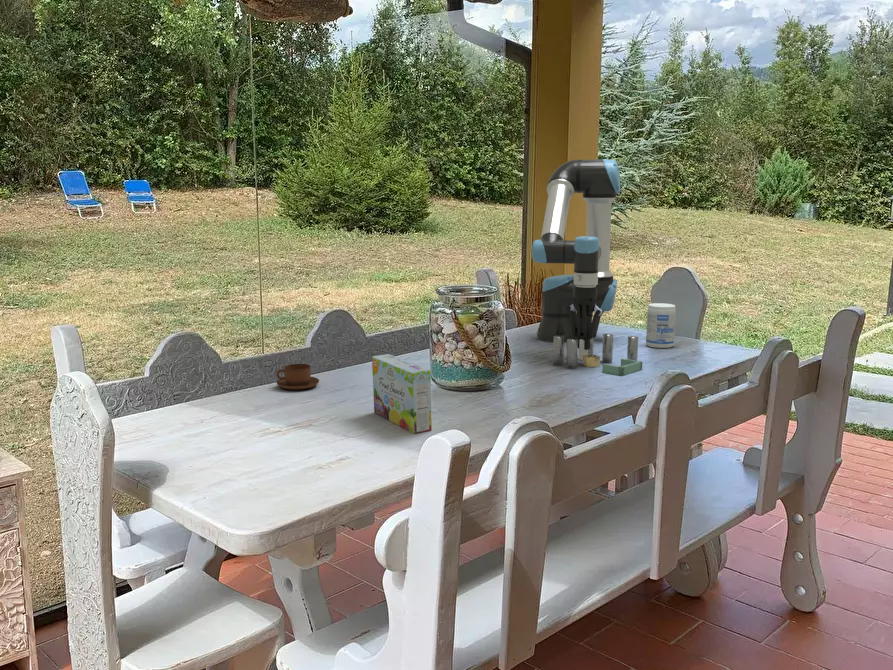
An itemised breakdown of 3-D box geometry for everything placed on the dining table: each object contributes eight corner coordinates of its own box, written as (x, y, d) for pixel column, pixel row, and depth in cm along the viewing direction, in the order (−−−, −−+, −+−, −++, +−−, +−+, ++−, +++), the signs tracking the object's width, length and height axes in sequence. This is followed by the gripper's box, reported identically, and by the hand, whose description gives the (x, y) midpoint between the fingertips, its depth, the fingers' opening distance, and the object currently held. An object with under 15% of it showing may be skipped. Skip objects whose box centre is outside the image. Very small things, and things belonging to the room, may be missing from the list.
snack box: (371, 413, 216) (370, 355, 214) (391, 410, 219) (390, 353, 217) (412, 434, 199) (412, 372, 196) (433, 430, 202) (432, 369, 199)
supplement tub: (658, 349, 293) (660, 307, 290) (640, 345, 301) (641, 304, 298) (679, 347, 297) (681, 305, 294) (661, 342, 305) (662, 302, 303)
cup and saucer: (278, 394, 236) (277, 372, 235) (275, 384, 248) (274, 363, 247) (321, 391, 239) (321, 369, 238) (316, 381, 251) (315, 360, 250)
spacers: (549, 364, 270) (549, 337, 269) (585, 355, 284) (585, 328, 283) (604, 375, 256) (605, 345, 255) (639, 364, 270) (640, 336, 268)
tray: (602, 372, 260) (602, 364, 260) (622, 366, 268) (622, 358, 268) (621, 375, 255) (622, 367, 255) (642, 369, 263) (642, 361, 263)
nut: (592, 367, 266) (592, 358, 265) (580, 365, 269) (580, 356, 269) (601, 365, 270) (602, 355, 269) (590, 362, 273) (590, 353, 272)
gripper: (561, 285, 269) (559, 358, 273) (595, 288, 260) (593, 364, 264) (575, 283, 274) (573, 354, 278) (609, 286, 265) (607, 360, 269)
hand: (583, 359), depth 271 cm, fingers closed
